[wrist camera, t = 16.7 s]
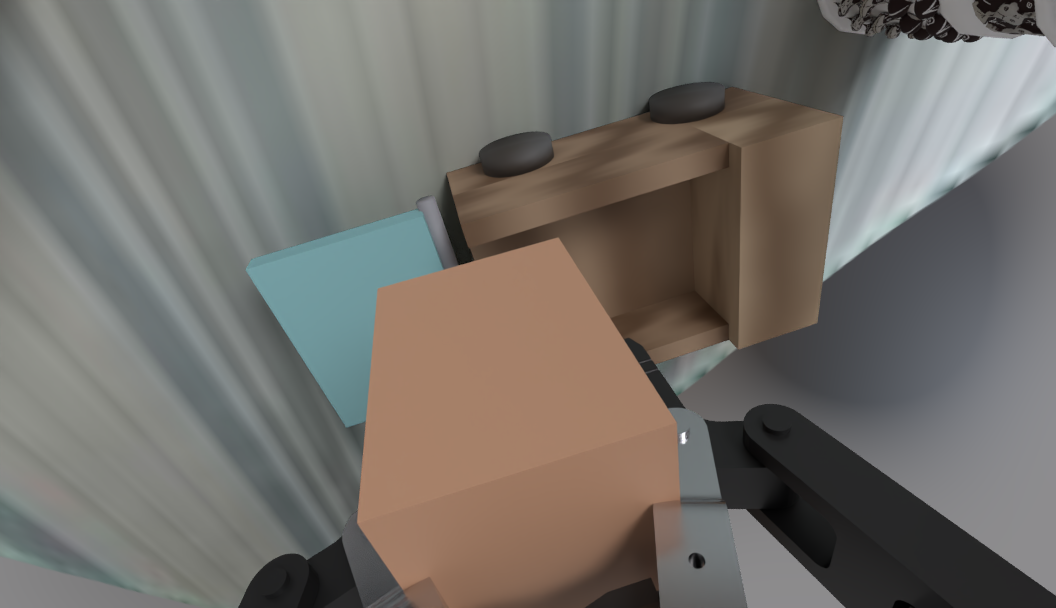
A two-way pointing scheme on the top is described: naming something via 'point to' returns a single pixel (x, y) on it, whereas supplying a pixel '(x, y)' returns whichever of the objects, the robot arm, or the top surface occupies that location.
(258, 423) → the top surface
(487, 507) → the tapered tan wedge
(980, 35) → the patterned ribbed cylinder
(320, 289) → the tailgate
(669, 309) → the truck bed
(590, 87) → the top surface
